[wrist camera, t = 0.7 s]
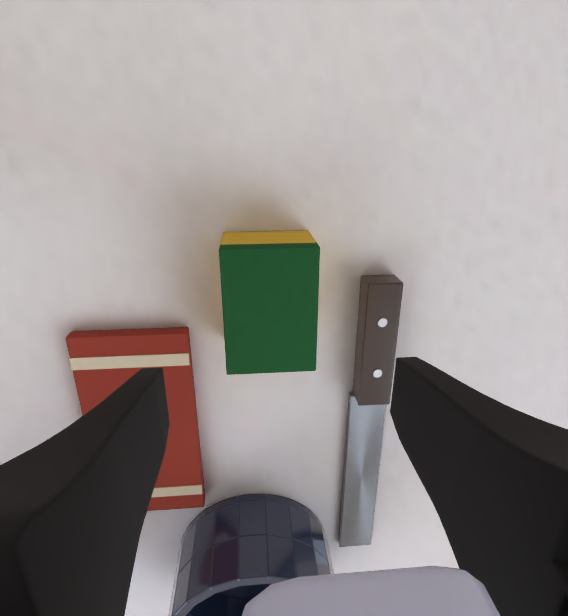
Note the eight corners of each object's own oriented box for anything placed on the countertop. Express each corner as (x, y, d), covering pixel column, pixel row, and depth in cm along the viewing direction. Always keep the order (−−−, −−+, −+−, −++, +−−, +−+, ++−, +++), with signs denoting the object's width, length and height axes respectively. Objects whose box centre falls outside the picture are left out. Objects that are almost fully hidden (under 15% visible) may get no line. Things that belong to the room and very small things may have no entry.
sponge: (229, 342, 22) (226, 375, 19) (223, 231, 20) (218, 248, 17) (306, 339, 23) (315, 371, 20) (308, 230, 20) (320, 246, 17)
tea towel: (108, 503, 26) (104, 515, 25) (71, 330, 21) (64, 338, 21) (205, 497, 26) (203, 508, 26) (188, 326, 22) (186, 333, 21)
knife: (338, 542, 29) (343, 561, 28) (356, 275, 21) (364, 284, 20) (369, 539, 29) (375, 559, 28) (398, 274, 22) (408, 283, 20)
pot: (187, 602, 30) (175, 696, 25) (173, 499, 26) (155, 585, 21) (323, 590, 31) (338, 679, 26) (328, 488, 27) (347, 569, 22)
